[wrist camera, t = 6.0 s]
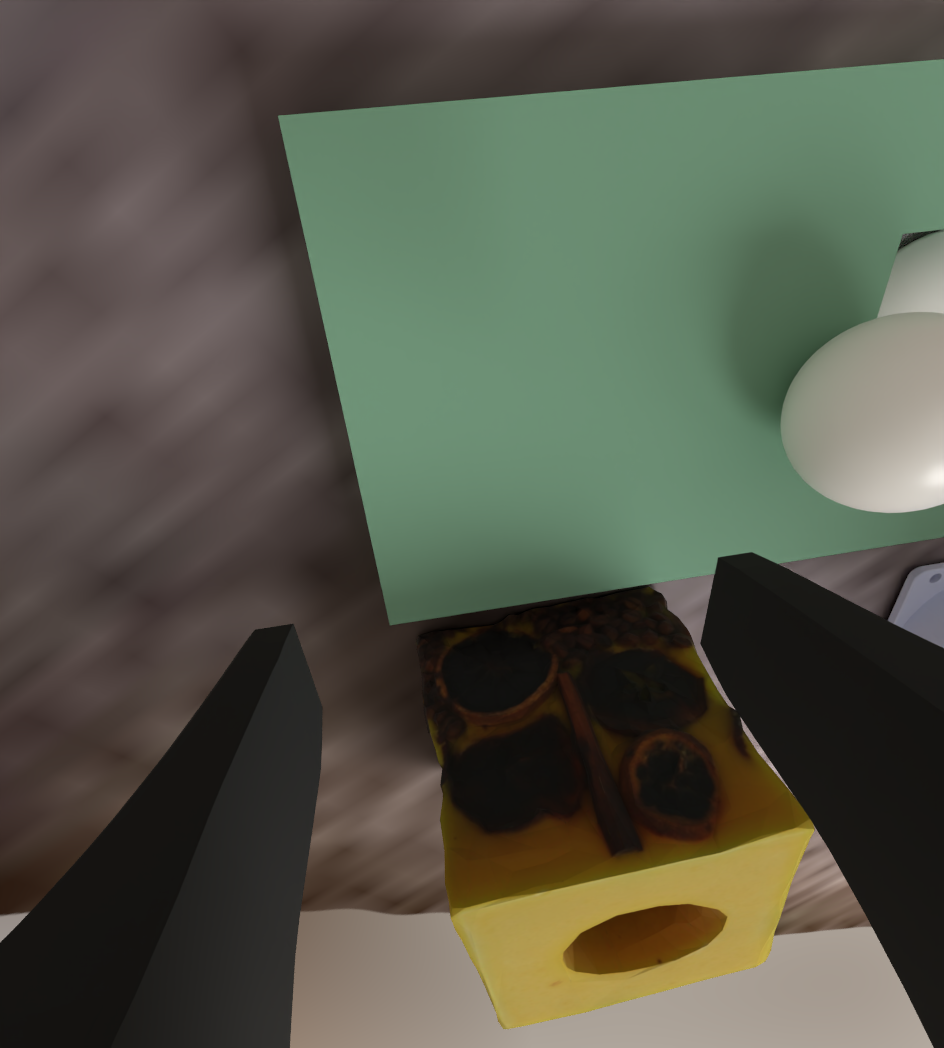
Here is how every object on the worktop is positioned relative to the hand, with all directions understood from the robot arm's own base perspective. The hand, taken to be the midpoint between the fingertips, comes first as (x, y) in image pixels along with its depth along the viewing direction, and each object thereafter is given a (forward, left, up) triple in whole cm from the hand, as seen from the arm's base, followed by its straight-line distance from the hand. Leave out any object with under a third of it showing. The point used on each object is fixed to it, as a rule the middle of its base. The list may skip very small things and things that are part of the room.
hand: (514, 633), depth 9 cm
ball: (-11, -1, -5) cm, 12 cm away
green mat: (-9, -1, -9) cm, 13 cm away
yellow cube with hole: (-3, +13, -10) cm, 16 cm away
